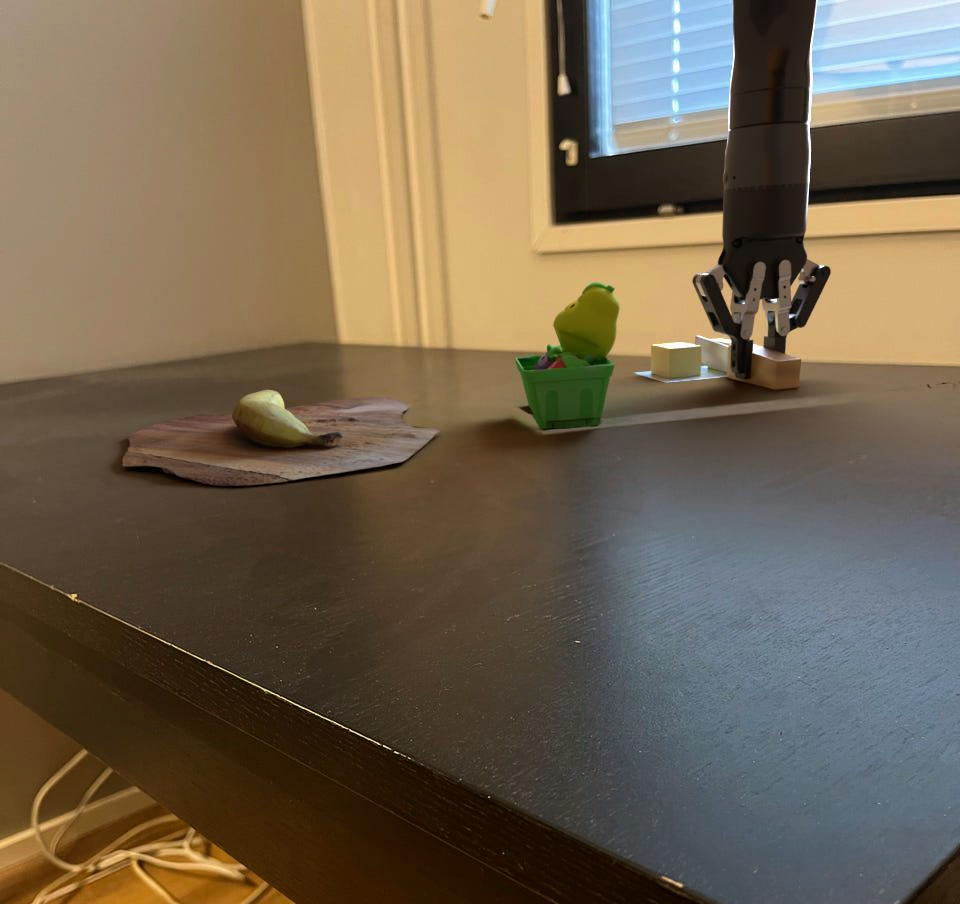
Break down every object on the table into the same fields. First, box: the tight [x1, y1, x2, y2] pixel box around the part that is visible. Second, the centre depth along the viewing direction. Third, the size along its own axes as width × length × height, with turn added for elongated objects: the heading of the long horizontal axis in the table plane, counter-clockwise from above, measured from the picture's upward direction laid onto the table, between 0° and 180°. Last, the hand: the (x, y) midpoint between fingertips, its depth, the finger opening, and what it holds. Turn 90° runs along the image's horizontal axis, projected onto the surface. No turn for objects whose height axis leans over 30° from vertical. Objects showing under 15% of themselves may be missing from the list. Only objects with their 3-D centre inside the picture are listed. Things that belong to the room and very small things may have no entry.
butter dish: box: [633, 365, 727, 384], centre depth 104 cm, size 13×9×1 cm
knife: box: [694, 335, 802, 390], centre depth 99 cm, size 20×2×3 cm, turn 13°
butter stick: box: [650, 341, 702, 379], centre depth 103 cm, size 4×5×3 cm
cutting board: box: [122, 389, 442, 487], centre depth 86 cm, size 35×27×4 cm
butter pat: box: [706, 337, 731, 372], centre depth 104 cm, size 2×5×3 cm, turn 13°
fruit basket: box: [514, 281, 621, 430], centre depth 85 cm, size 11×9×11 cm
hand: (757, 376), depth 96 cm, fingers closed on knife, 2 cm apart
